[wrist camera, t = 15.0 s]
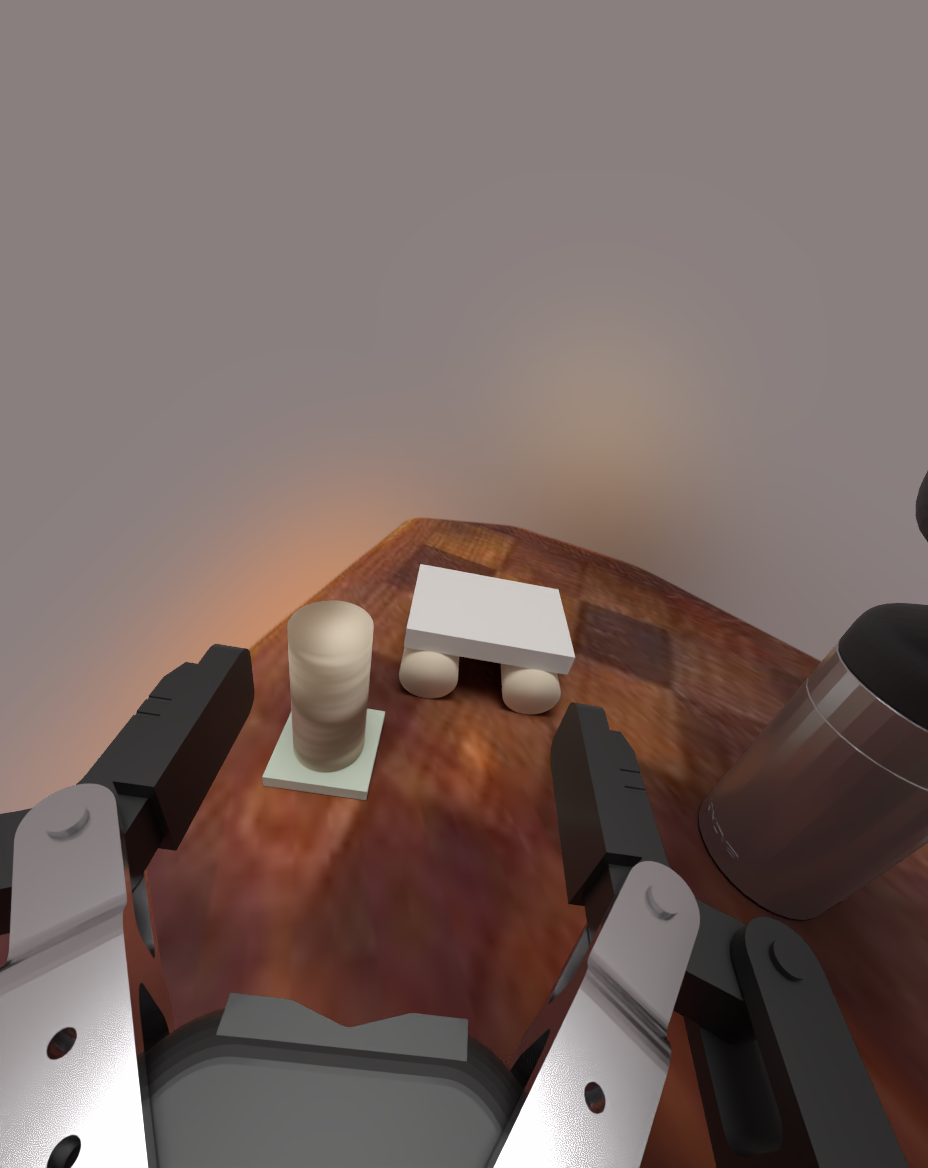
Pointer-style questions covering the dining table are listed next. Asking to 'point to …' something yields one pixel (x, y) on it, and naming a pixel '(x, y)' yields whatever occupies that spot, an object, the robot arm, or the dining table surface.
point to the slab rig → (486, 636)
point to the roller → (329, 682)
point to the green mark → (337, 783)
